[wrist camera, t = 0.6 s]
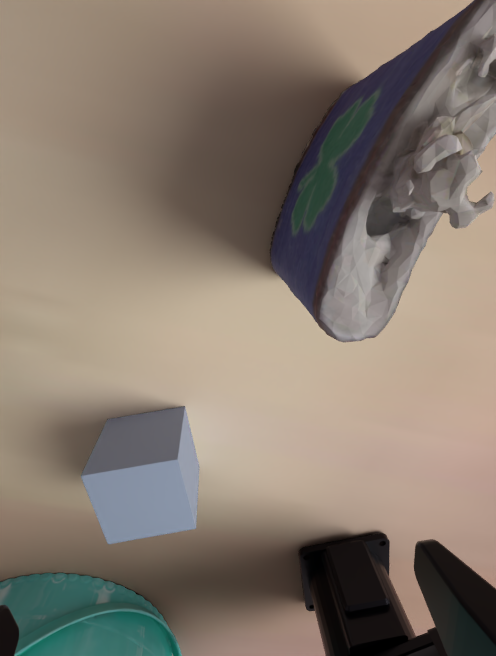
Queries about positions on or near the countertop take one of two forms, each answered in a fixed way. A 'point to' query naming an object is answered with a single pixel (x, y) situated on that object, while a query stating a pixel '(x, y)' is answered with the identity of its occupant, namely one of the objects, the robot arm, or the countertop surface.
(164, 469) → the cube
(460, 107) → the flask
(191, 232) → the countertop surface
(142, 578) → the countertop surface
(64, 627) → the basket
